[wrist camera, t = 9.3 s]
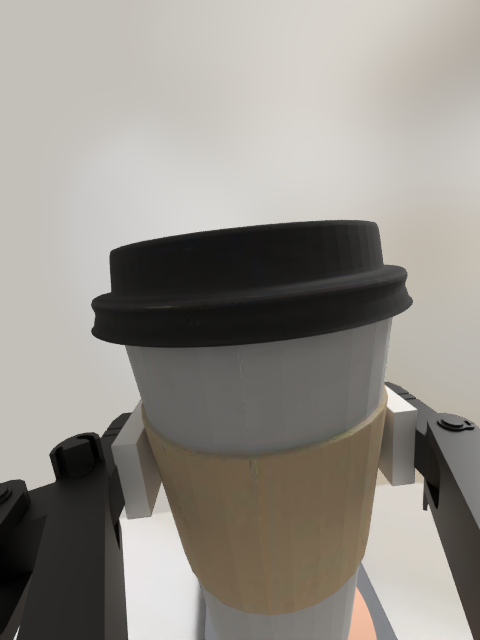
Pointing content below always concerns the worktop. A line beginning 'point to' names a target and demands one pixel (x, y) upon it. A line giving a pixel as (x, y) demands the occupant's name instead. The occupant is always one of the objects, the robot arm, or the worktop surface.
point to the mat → (367, 617)
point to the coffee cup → (263, 408)
